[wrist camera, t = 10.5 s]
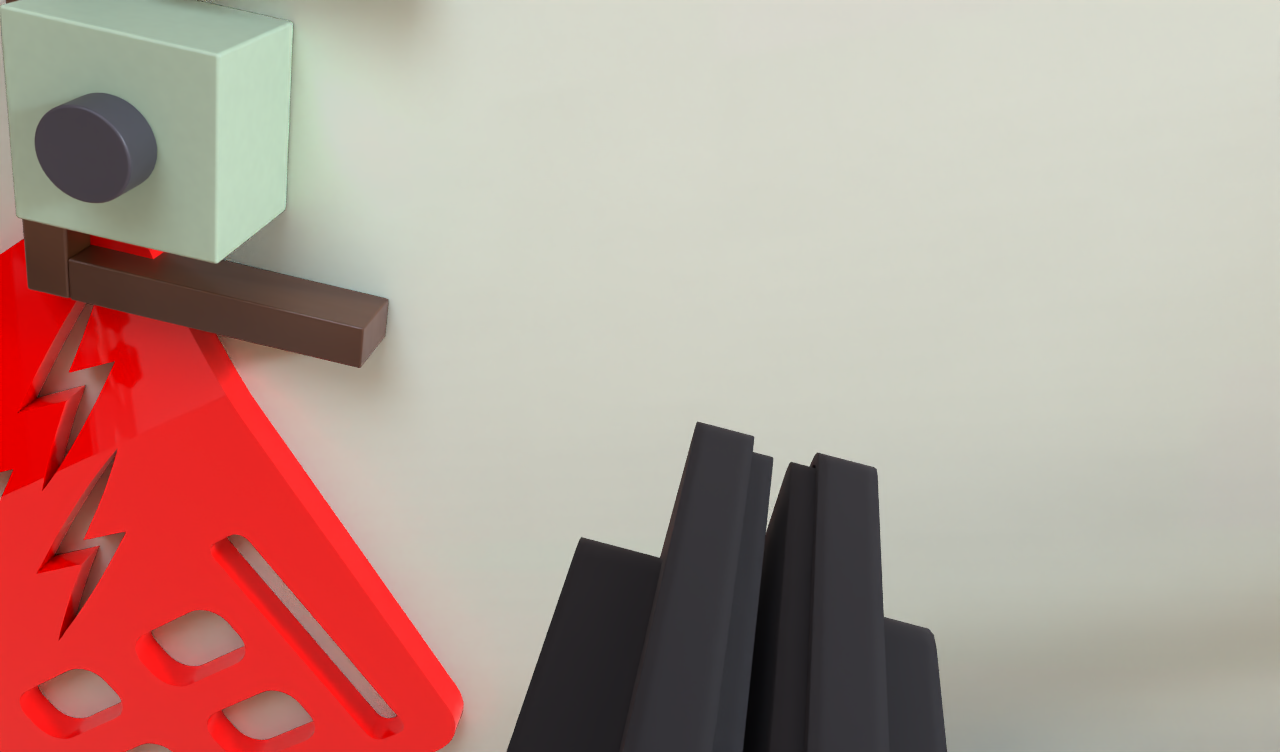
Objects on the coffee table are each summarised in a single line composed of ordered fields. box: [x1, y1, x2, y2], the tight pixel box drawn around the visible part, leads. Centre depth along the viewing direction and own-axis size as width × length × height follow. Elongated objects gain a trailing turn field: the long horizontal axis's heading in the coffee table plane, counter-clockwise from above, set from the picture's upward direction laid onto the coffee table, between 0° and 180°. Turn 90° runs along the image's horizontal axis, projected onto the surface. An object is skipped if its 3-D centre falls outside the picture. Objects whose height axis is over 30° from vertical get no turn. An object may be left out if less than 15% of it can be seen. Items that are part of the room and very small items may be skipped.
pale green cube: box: [0, 0, 293, 264], centre depth 27 cm, size 5×5×5 cm
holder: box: [6, 0, 388, 368], centre depth 28 cm, size 11×9×2 cm
